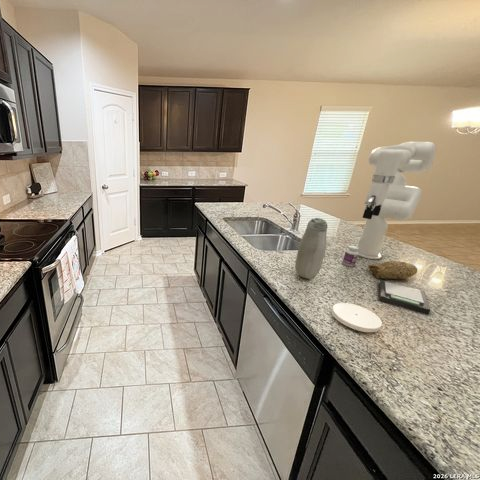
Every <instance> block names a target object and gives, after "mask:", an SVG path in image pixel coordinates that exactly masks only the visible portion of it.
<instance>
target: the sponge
mask: <svg viewBox="0 0 480 480" xmlns="http://www.w3.org/2000/svg"><path fill="white" fill-rule="evenodd" d="M416 266H417V265H415V264H412V263H408V262H405V261H400V260H389V261H384V262H382V263H377V264H369V265H368V271H369V272H370V273H371V274H372V275H374V276H375V278H377V279H381V280H382V279H383V280H385V279H386V280H390V279H395V280H396V279H397V280H398V279H399V280H400V279H409V278H411V277H413V276H415V275H416V274H417V273H418V267H416Z"/></svg>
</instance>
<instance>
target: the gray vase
mask: <svg viewBox="0 0 480 480" xmlns="http://www.w3.org/2000/svg"><path fill="white" fill-rule="evenodd" d="M327 233H328V223H327V221H326V220H325V219H323V218H320V217H314V218H311V219H310V220H309V221H308V222H307V225H306V227H305V231H304V233H303V234H302V237H301V238H300V241H299V244H298V249H297V253H296V259H295V264H294V265H295V266H294V269H295V273H296V274H297V275H298V276H299V277H301V278H304V279H314V278H315V277H317V276H318V274H319V272H320V271H321V268H322V264H323V260H324V257H325V254H326V250H327V235H328V234H327Z"/></svg>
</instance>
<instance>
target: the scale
mask: <svg viewBox="0 0 480 480" xmlns="http://www.w3.org/2000/svg"><path fill="white" fill-rule="evenodd" d="M378 301H379V302H382V303H386V304H389V305H392V306H396V307H399V308H402V309H407V310H409V311H413V312H417V313H420V314H424V315H426V316H428V315H429V314H430V312H431V308H430V305H429V301H428V299H427V296H426V293H425V290H421V289H419V288H418V289H417V288H414V287H409V286H405V285H402V284H397V283H395V282H394V283H393V282H390V281H386V280H382V279H381V280H379V282H378Z"/></svg>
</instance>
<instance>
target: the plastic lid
mask: <svg viewBox="0 0 480 480" xmlns="http://www.w3.org/2000/svg"><path fill="white" fill-rule="evenodd" d="M331 315H332V316H333V317H334V319H335V320H336V321H338V322H339V323H341V324H342V325H344V326H346V327H348V328H350V329H353V330H356V331H359V332H364V333H376V332H379V331H380V330H381V328H382V326H383V321H382V319H381V318H380V317H379V316H378V315H377V314H376V313H374V312H373V311H371V310H370V309H368V308H366V307H364V306H361V305H357V304H354V303H349V302H348V303H347V302H338V303H335V304H333V306H332V307H331Z"/></svg>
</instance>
